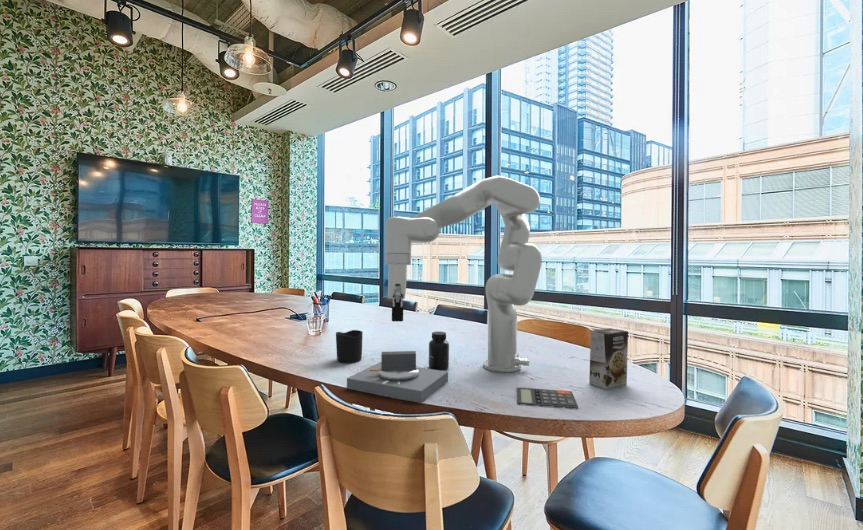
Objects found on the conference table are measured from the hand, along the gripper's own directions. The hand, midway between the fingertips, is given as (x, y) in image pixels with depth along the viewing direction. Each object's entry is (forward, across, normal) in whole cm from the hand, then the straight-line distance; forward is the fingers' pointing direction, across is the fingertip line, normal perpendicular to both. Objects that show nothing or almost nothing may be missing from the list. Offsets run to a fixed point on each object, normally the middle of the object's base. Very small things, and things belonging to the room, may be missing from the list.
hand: (397, 318), depth 117 cm
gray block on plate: (+17, 0, -1) cm, 17 cm away
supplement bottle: (+20, -16, +14) cm, 29 cm away
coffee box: (+19, +4, +63) cm, 66 cm away
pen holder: (+20, -28, -17) cm, 38 cm away
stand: (+20, 0, +1) cm, 20 cm away
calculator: (+20, +13, +40) cm, 47 cm away
